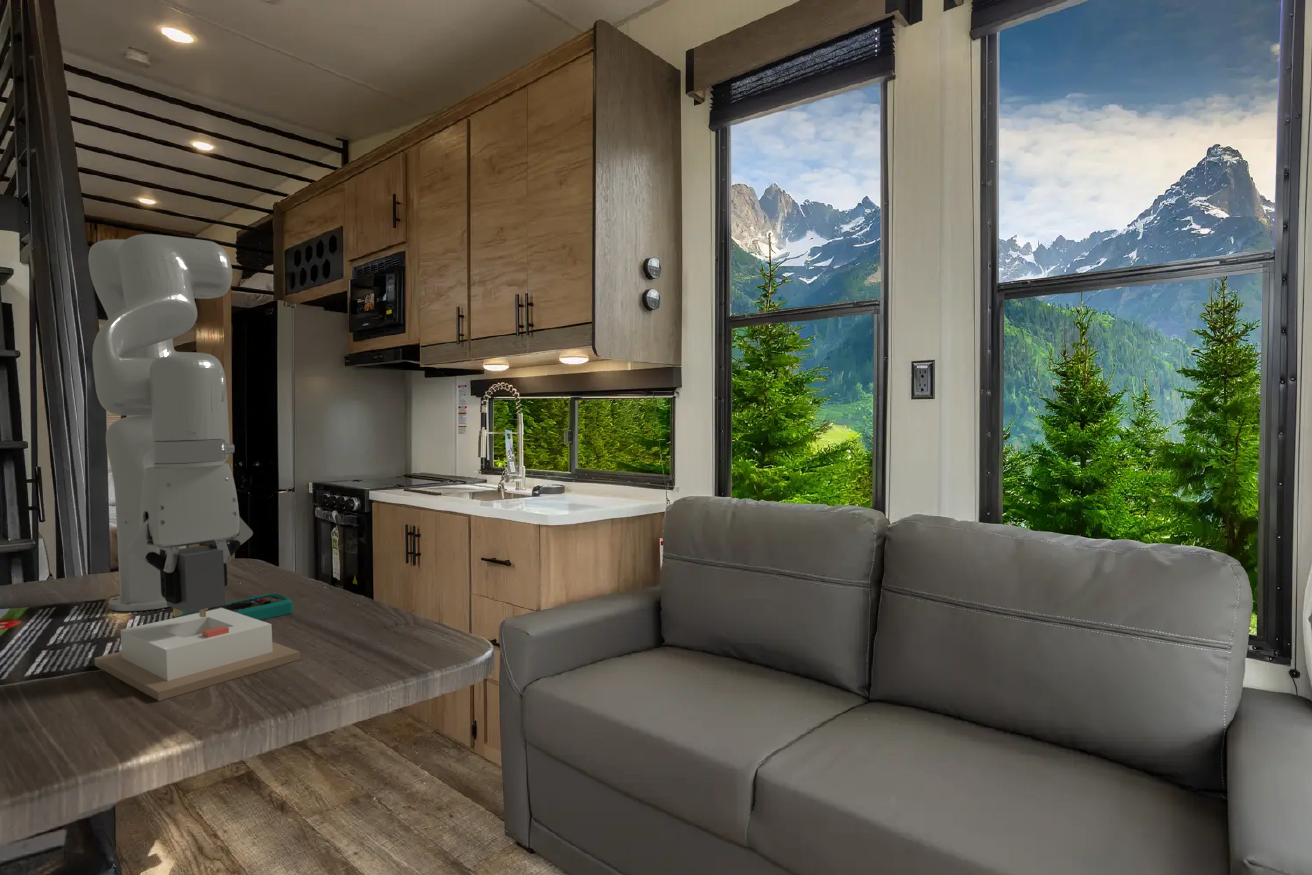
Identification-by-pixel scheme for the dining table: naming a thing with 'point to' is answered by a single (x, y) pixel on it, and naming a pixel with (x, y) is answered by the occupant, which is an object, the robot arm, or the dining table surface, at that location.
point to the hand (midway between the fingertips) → (195, 596)
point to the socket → (194, 653)
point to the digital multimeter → (257, 607)
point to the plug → (200, 580)
